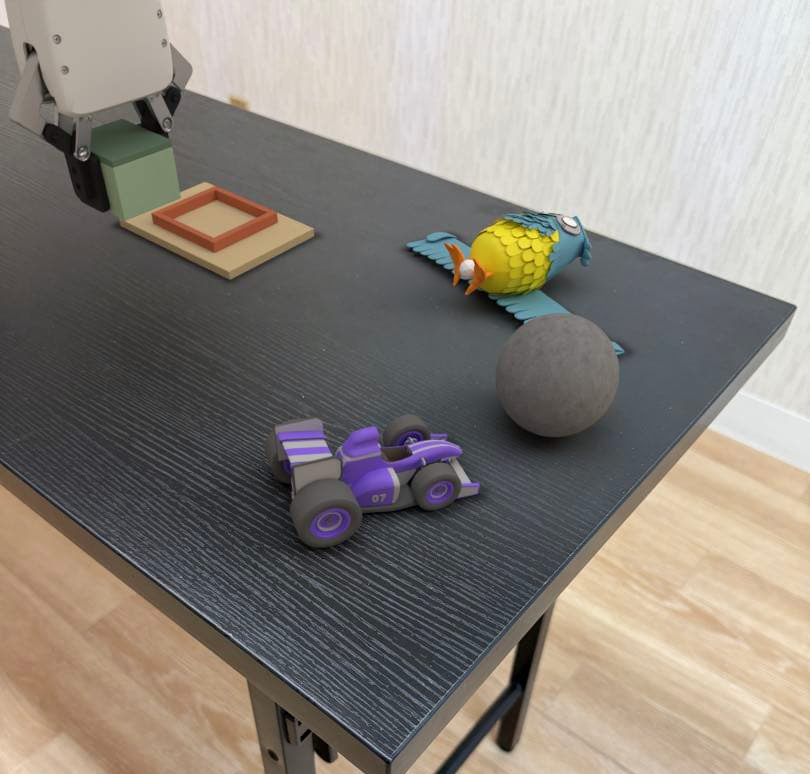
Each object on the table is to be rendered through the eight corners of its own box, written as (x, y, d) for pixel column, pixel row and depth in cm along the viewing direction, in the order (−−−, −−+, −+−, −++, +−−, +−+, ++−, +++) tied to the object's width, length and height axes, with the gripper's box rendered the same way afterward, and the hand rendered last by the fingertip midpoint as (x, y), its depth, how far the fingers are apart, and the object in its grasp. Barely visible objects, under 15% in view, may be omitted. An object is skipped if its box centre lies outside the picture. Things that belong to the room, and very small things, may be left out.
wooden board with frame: (120, 226, 92) (115, 207, 90) (206, 189, 99) (203, 171, 97) (229, 280, 84) (227, 260, 83) (314, 236, 91) (313, 217, 90)
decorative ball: (466, 412, 70) (477, 311, 63) (550, 376, 75) (570, 277, 67) (542, 477, 65) (564, 375, 58) (628, 434, 69) (659, 334, 62)
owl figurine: (380, 176, 82) (493, 149, 89) (378, 256, 89) (484, 225, 95) (568, 298, 67) (688, 255, 74) (549, 384, 73) (661, 338, 80)
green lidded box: (77, 196, 64) (61, 137, 61) (134, 175, 67) (122, 118, 64) (124, 221, 61) (111, 161, 58) (181, 198, 64) (171, 139, 61)
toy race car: (486, 507, 63) (496, 443, 58) (300, 556, 58) (294, 491, 54) (438, 432, 68) (444, 368, 64) (266, 472, 64) (258, 407, 60)
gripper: (140, -116, 57) (182, 148, 70) (-97, -85, 48) (4, 214, 61) (211, -99, 54) (241, 174, 67) (-27, -62, 45) (63, 247, 58)
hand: (128, 191), depth 64 cm, fingers closed on green lidded box, 5 cm apart
